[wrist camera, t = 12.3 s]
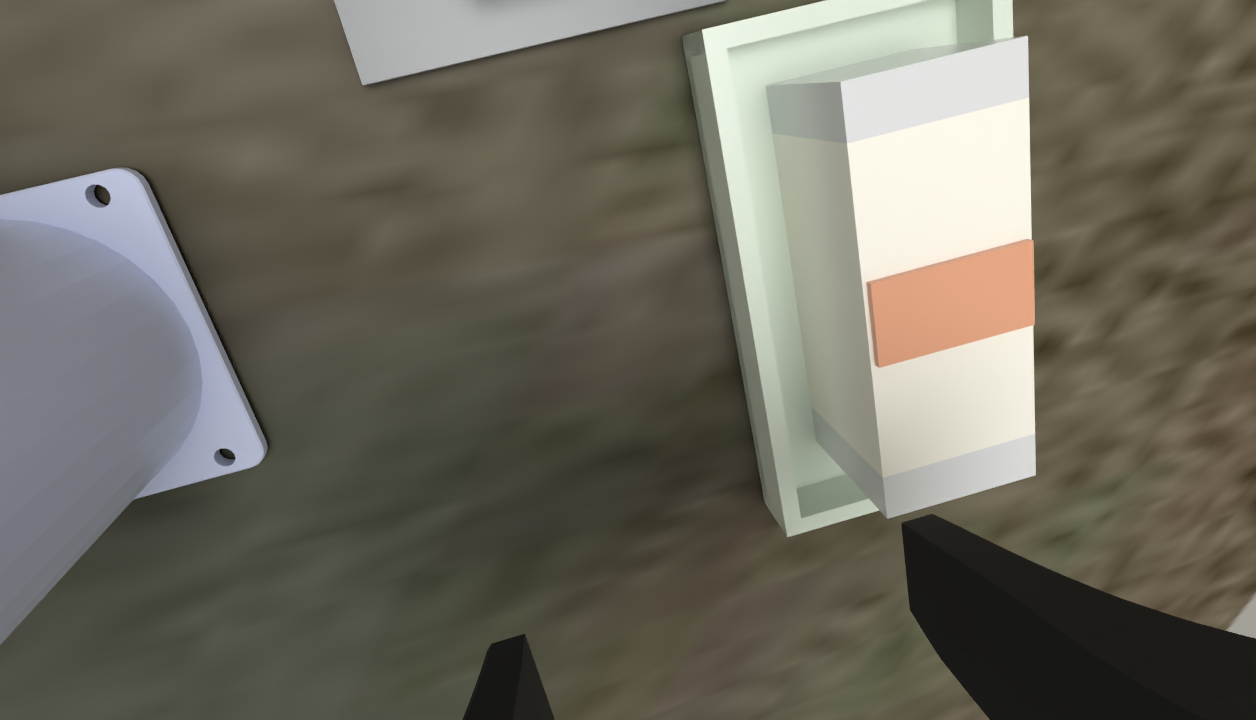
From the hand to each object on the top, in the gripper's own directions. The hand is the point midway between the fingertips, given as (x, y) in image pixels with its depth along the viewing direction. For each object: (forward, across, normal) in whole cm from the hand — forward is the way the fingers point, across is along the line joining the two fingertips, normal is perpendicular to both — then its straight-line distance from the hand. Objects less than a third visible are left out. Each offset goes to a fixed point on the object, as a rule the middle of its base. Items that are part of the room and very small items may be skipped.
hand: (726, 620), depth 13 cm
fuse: (+8, -7, -3) cm, 11 cm away
